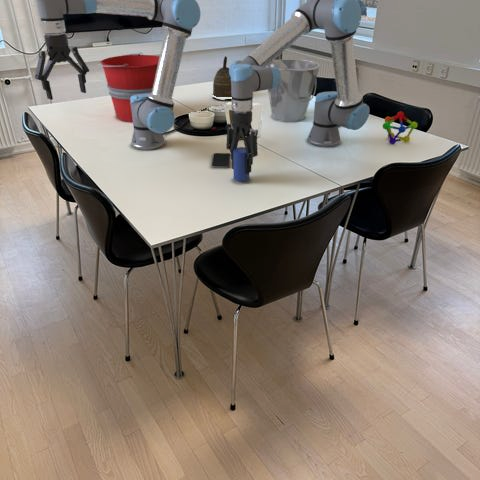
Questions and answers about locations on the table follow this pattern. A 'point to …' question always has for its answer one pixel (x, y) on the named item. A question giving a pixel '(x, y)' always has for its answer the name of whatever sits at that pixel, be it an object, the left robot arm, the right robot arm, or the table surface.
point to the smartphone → (221, 160)
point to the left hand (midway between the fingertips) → (67, 95)
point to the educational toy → (398, 128)
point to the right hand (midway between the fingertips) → (241, 170)
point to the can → (239, 164)
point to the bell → (222, 82)
